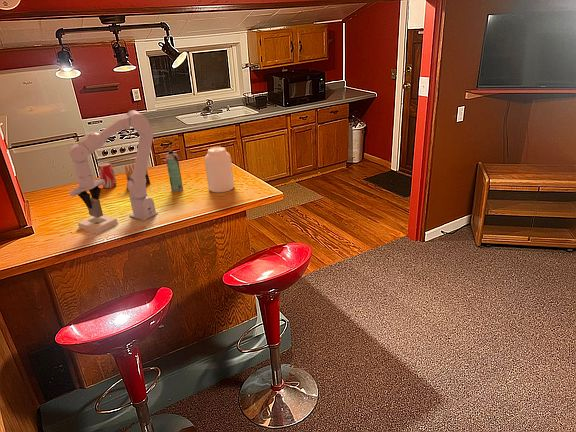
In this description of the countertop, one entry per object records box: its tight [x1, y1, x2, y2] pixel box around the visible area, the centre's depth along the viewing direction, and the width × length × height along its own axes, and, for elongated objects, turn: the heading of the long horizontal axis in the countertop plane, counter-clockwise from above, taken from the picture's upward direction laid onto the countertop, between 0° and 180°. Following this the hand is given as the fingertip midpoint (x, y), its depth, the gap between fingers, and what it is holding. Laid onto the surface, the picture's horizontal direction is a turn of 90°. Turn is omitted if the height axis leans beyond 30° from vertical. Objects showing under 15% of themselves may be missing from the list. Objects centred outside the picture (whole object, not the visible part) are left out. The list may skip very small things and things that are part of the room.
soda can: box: [97, 161, 117, 189], centre depth 215 cm, size 7×7×12 cm
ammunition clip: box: [124, 162, 151, 185], centre depth 215 cm, size 11×2×12 cm, turn 114°
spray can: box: [165, 149, 184, 193], centre depth 205 cm, size 6×6×20 cm
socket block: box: [77, 214, 119, 235], centre depth 176 cm, size 12×10×2 cm
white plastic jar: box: [204, 146, 235, 193], centre depth 204 cm, size 12×12×20 cm
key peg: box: [87, 196, 104, 218], centre depth 173 cm, size 3×5×7 cm, turn 58°
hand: (93, 206), depth 173 cm, fingers closed on key peg, 3 cm apart
